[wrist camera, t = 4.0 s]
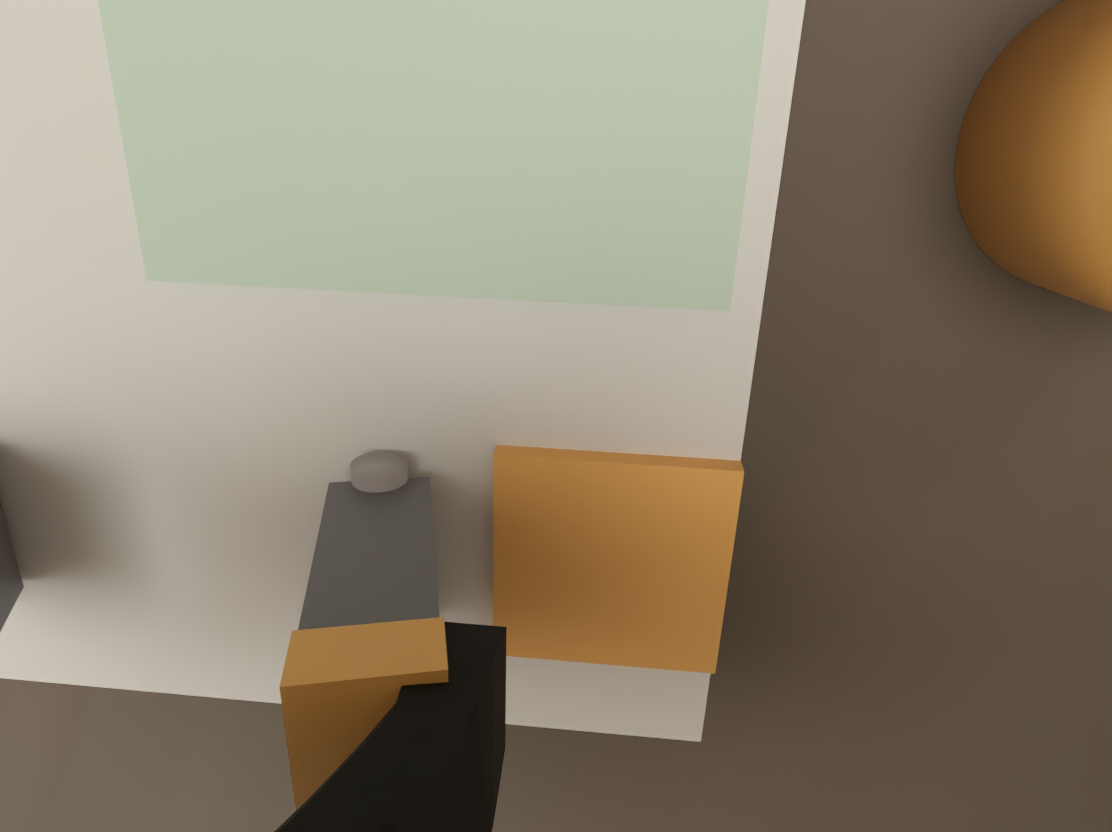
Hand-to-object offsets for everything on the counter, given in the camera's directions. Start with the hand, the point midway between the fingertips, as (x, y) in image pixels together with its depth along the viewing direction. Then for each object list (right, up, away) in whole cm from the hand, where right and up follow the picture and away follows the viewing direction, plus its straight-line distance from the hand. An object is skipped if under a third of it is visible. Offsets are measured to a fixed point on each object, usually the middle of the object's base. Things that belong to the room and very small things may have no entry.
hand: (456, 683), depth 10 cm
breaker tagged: (-2, +1, +3) cm, 4 cm away
